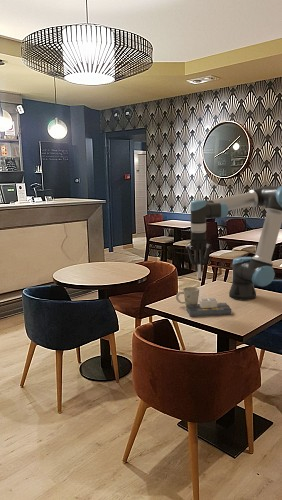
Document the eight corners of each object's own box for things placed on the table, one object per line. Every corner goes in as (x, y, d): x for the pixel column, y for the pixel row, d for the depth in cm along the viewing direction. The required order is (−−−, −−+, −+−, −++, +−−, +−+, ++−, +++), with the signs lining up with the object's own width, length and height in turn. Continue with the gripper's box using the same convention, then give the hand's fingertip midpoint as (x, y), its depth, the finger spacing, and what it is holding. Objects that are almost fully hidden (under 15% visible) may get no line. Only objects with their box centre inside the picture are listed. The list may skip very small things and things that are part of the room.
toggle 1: (207, 305, 205) (207, 298, 204) (209, 307, 201) (209, 300, 200) (199, 305, 205) (199, 298, 204) (201, 308, 201) (201, 301, 200)
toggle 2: (215, 304, 205) (215, 297, 204) (217, 307, 201) (217, 300, 201) (207, 305, 205) (207, 298, 204) (209, 307, 201) (209, 300, 200)
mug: (198, 309, 208) (198, 291, 206) (175, 308, 210) (174, 290, 209) (199, 304, 216) (199, 287, 214) (176, 303, 218) (176, 286, 217)
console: (226, 308, 209) (226, 302, 209) (231, 314, 199) (231, 308, 199) (186, 310, 208) (186, 304, 207) (189, 316, 198) (189, 310, 197)
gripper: (209, 229, 199) (209, 275, 204) (184, 231, 199) (184, 276, 203) (213, 232, 192) (213, 278, 197) (186, 233, 191) (187, 280, 196)
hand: (198, 277), depth 200 cm, fingers closed
